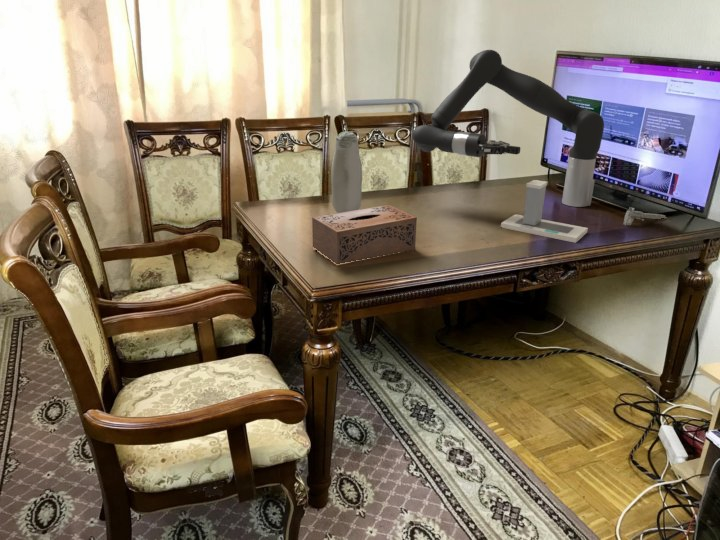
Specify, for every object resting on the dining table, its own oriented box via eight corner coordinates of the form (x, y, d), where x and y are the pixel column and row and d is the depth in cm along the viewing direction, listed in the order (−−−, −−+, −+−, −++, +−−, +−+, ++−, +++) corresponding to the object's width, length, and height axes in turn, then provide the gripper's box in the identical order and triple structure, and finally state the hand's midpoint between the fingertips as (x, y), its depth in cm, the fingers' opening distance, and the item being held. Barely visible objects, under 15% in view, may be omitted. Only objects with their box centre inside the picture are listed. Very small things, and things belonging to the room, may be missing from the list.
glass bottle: (329, 211, 203) (328, 129, 192) (357, 209, 205) (358, 128, 195) (334, 219, 194) (334, 134, 183) (364, 218, 196) (365, 133, 186)
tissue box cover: (387, 236, 181) (388, 204, 177) (415, 250, 169) (416, 217, 165) (312, 250, 168) (312, 217, 165) (337, 267, 157) (336, 231, 153)
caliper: (625, 226, 192) (629, 208, 190) (622, 226, 193) (626, 207, 191) (666, 219, 201) (670, 201, 198) (664, 218, 202) (668, 200, 199)
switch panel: (500, 227, 189) (501, 222, 188) (514, 218, 198) (515, 213, 198) (575, 242, 176) (576, 237, 176) (587, 232, 185) (587, 227, 185)
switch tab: (521, 223, 187) (526, 183, 182) (528, 218, 192) (533, 179, 187) (535, 226, 185) (540, 185, 180) (542, 221, 190) (547, 181, 185)
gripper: (460, 135, 187) (512, 141, 177) (478, 130, 197) (528, 135, 187) (459, 158, 189) (509, 166, 180) (476, 152, 199) (525, 159, 190)
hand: (519, 150), depth 184 cm, fingers closed
